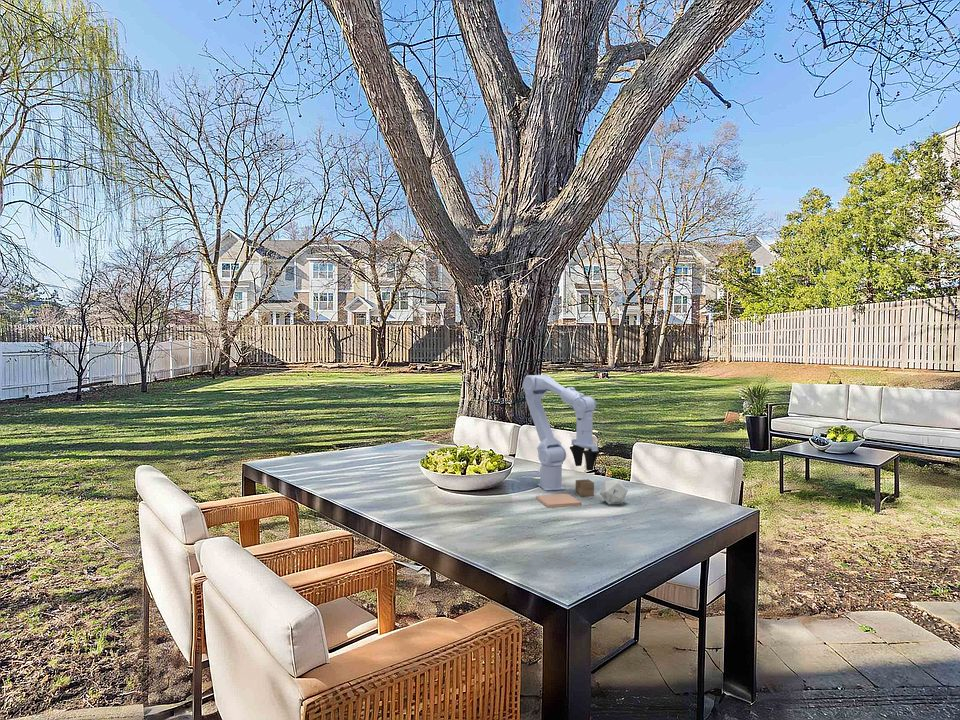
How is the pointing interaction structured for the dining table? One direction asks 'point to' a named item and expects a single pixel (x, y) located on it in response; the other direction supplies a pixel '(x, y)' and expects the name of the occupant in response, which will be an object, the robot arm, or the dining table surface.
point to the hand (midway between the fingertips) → (584, 467)
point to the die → (613, 492)
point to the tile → (558, 500)
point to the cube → (584, 488)
